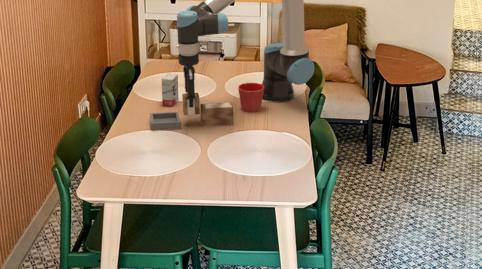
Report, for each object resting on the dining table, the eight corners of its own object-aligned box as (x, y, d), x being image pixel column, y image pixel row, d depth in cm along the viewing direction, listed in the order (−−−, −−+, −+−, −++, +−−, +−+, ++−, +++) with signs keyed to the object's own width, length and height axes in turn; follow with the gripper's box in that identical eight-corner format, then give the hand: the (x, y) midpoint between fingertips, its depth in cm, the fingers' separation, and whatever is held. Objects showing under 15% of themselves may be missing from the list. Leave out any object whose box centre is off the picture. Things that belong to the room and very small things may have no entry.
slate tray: (178, 118, 272) (177, 111, 271) (180, 128, 262) (180, 122, 261) (150, 119, 270) (149, 113, 269) (151, 130, 260) (151, 123, 259)
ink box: (173, 106, 284) (172, 79, 280) (161, 105, 285) (160, 78, 281) (179, 99, 292) (178, 73, 288) (167, 99, 293) (167, 72, 288)
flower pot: (234, 111, 280) (234, 89, 276) (243, 103, 290) (243, 81, 286) (258, 115, 277) (259, 92, 273) (267, 106, 286) (267, 84, 282)
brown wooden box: (230, 118, 272) (230, 101, 270) (233, 124, 267) (233, 107, 264) (200, 120, 270) (200, 103, 268) (202, 126, 265) (202, 108, 262)
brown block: (198, 109, 268) (197, 92, 265) (199, 114, 264) (199, 96, 261) (183, 110, 267) (182, 93, 264) (184, 115, 263) (183, 97, 260)
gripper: (176, 47, 264) (178, 104, 273) (180, 60, 247) (183, 120, 256) (195, 46, 265) (197, 102, 274) (201, 59, 248) (203, 119, 258)
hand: (190, 111), depth 265 cm, fingers closed on brown block, 5 cm apart
